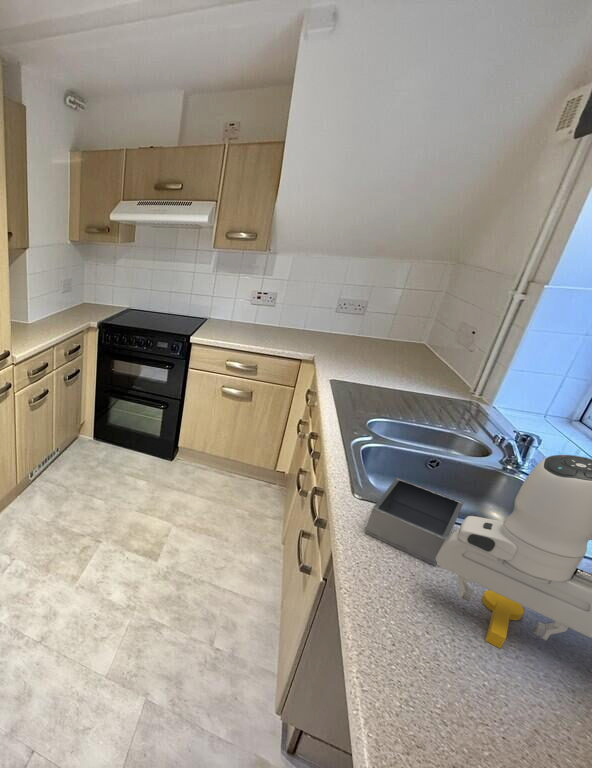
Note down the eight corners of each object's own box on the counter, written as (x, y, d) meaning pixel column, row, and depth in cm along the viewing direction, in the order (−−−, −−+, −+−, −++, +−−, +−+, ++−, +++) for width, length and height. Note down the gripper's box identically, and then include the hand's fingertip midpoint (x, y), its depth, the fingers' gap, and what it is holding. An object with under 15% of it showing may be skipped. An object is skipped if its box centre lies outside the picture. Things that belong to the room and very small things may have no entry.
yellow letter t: (522, 609, 74) (528, 599, 73) (514, 656, 65) (520, 646, 65) (483, 590, 77) (488, 581, 77) (471, 633, 69) (476, 623, 68)
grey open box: (388, 500, 103) (396, 477, 101) (453, 526, 94) (463, 502, 92) (364, 533, 92) (372, 507, 89) (435, 566, 83) (447, 539, 80)
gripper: (638, 582, 60) (592, 649, 65) (456, 511, 74) (430, 570, 79) (642, 606, 56) (593, 675, 61) (449, 526, 70) (422, 587, 75)
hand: (500, 615), depth 70 cm, fingers open, 8 cm apart
